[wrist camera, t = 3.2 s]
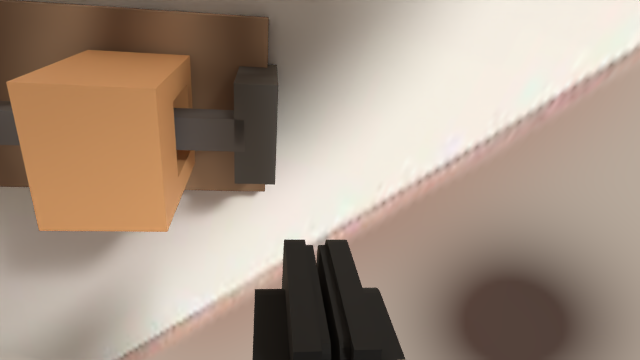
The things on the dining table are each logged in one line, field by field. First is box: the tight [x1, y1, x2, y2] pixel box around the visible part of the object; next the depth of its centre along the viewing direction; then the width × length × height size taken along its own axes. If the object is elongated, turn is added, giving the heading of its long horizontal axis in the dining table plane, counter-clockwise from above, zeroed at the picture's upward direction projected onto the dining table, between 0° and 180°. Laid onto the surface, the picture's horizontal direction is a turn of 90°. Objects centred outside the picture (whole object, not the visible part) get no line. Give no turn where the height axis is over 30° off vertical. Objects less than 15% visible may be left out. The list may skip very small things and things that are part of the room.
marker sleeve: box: [6, 50, 195, 232], centre depth 20 cm, size 5×6×8 cm
